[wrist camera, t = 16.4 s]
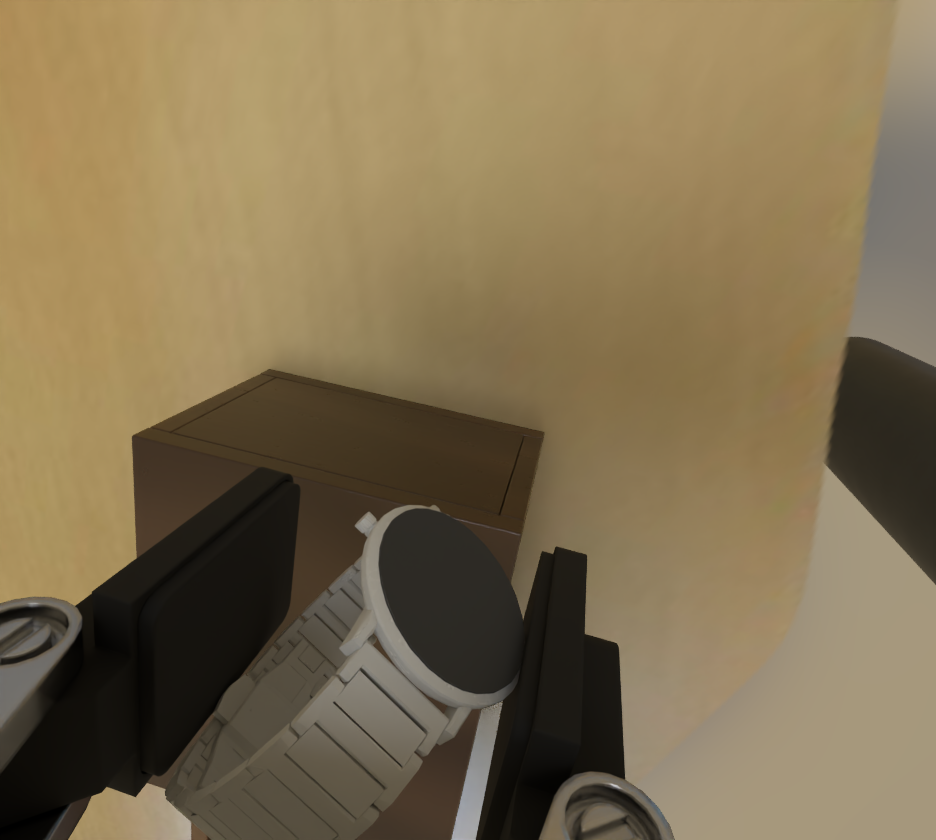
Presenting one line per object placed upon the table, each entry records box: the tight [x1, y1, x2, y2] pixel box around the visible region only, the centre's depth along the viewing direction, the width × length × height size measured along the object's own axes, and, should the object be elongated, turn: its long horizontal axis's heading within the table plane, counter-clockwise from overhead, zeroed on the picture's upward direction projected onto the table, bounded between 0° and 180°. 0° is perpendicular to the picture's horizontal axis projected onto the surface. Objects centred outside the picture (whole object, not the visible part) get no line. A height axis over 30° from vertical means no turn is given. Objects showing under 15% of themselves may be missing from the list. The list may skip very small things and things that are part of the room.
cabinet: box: [132, 369, 544, 840], centre depth 25 cm, size 16×13×9 cm
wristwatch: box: [165, 505, 525, 840], centre depth 9 cm, size 3×5×5 cm, turn 134°
